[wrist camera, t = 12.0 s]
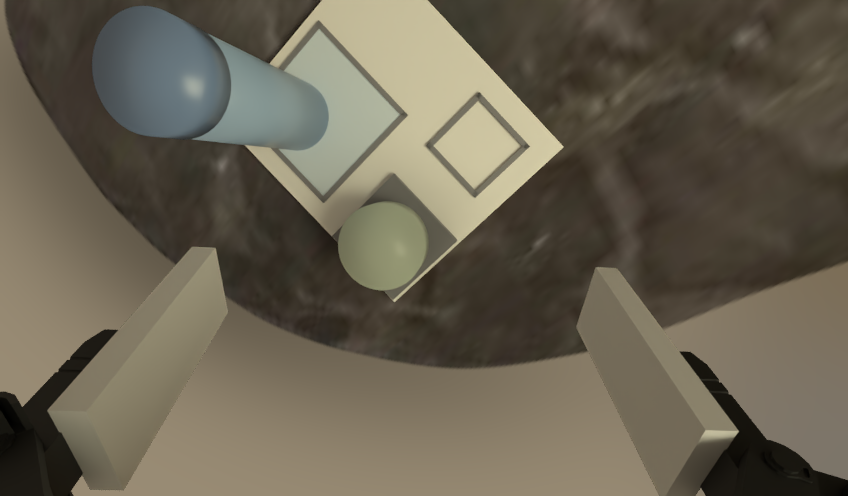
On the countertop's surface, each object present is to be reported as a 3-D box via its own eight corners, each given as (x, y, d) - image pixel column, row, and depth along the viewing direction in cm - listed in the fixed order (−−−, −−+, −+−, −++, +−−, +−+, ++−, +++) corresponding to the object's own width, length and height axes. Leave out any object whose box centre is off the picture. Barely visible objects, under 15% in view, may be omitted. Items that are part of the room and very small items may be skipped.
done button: (388, 183, 25) (380, 184, 23) (445, 244, 25) (442, 250, 23) (333, 239, 26) (320, 245, 24) (388, 297, 26) (380, 307, 24)
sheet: (375, -53, 25) (369, -65, 24) (561, 147, 26) (565, 146, 24) (228, 122, 28) (216, 120, 27) (397, 298, 29) (392, 304, 28)
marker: (294, 63, 26) (138, -23, 14) (343, 115, 26) (228, 72, 15) (250, 115, 27) (70, 73, 15) (297, 165, 27) (155, 161, 16)
